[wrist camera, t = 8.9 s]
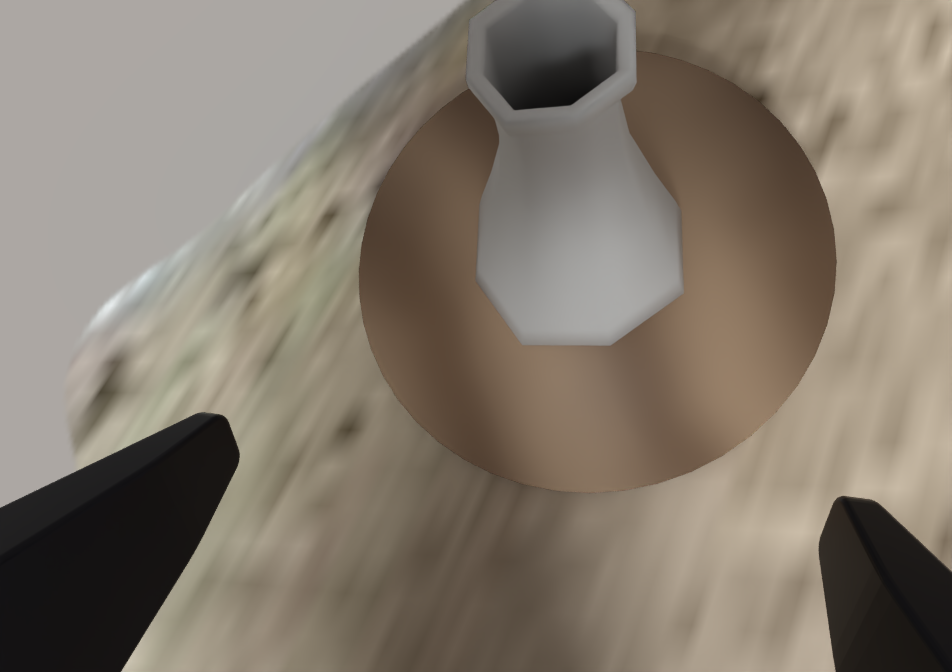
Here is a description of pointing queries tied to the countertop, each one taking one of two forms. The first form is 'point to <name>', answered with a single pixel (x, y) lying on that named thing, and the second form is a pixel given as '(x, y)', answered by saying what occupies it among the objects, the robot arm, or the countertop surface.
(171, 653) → the countertop surface
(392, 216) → the walnut board
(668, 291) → the flask
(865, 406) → the countertop surface
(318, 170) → the countertop surface
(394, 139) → the countertop surface
